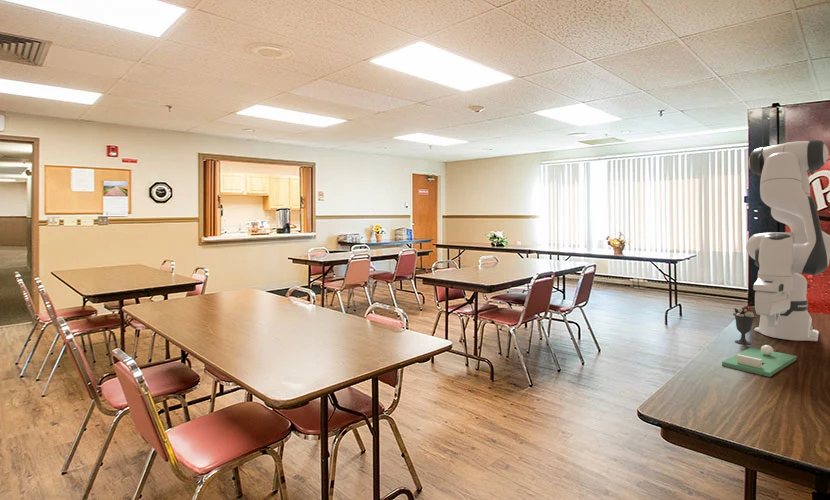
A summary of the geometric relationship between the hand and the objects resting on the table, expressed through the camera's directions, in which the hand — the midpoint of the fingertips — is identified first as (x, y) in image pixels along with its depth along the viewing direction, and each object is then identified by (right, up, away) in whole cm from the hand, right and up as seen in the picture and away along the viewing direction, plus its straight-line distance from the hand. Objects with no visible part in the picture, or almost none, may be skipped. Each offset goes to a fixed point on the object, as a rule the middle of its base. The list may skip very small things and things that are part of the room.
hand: (772, 326), depth 144 cm
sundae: (+2, -9, +16) cm, 18 cm away
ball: (-3, -7, -1) cm, 8 cm away
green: (-8, -11, -5) cm, 14 cm away
